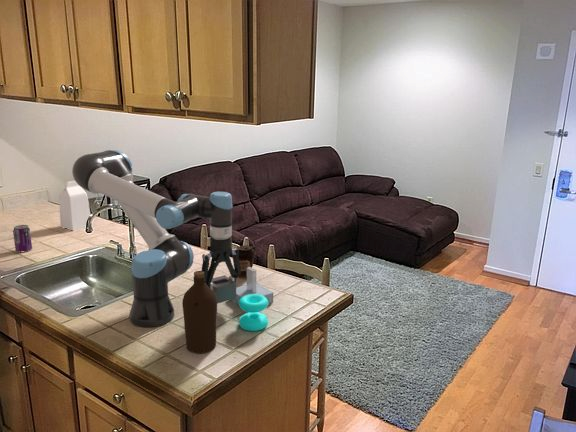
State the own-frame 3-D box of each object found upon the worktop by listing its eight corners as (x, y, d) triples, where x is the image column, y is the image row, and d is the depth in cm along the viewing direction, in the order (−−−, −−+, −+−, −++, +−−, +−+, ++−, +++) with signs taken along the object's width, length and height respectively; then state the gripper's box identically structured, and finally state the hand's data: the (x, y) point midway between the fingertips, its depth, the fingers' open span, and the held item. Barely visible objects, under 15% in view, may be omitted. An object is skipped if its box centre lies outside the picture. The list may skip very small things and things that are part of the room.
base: (246, 310, 177) (246, 300, 176) (229, 298, 187) (229, 289, 185) (273, 302, 185) (273, 292, 183) (255, 291, 194) (255, 282, 193)
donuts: (243, 291, 170) (270, 294, 168) (243, 317, 172) (270, 320, 171) (235, 303, 160) (264, 306, 159) (235, 330, 163) (264, 334, 161)
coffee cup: (251, 280, 204) (251, 251, 200) (232, 278, 205) (231, 249, 202) (256, 273, 212) (256, 245, 209) (238, 271, 214) (238, 243, 210)
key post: (252, 293, 182) (252, 271, 180) (246, 289, 186) (246, 267, 183) (256, 292, 183) (256, 270, 181) (250, 288, 187) (250, 266, 184)
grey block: (216, 303, 169) (216, 288, 167) (205, 295, 175) (205, 280, 173) (236, 298, 174) (236, 282, 172) (224, 290, 180) (224, 275, 178)
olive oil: (222, 349, 151) (221, 275, 145) (189, 358, 146) (187, 281, 140) (211, 334, 160) (209, 263, 154) (180, 341, 155) (176, 269, 149)
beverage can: (33, 251, 232) (30, 227, 229) (16, 253, 228) (13, 229, 225) (31, 247, 238) (28, 223, 235) (15, 249, 234) (11, 225, 231)
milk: (73, 231, 263) (68, 184, 256) (60, 227, 269) (55, 181, 262) (92, 226, 273) (88, 181, 266) (79, 222, 279) (75, 178, 272)
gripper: (199, 244, 159) (199, 307, 165) (252, 234, 171) (250, 293, 178) (188, 238, 165) (189, 299, 171) (240, 229, 177) (239, 286, 183)
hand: (220, 296), depth 174 cm, fingers closed on grey block, 8 cm apart
